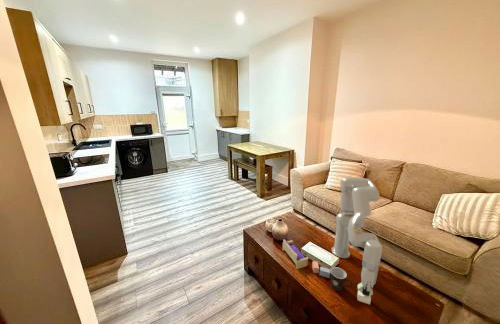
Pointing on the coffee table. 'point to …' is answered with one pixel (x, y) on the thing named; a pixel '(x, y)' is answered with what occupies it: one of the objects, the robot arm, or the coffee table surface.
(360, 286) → the sage brick
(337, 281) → the coffee mug
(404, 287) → the coffee table surface
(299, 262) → the toy sofa
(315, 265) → the terracotta brick
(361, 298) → the cream brick
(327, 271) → the slate brick
